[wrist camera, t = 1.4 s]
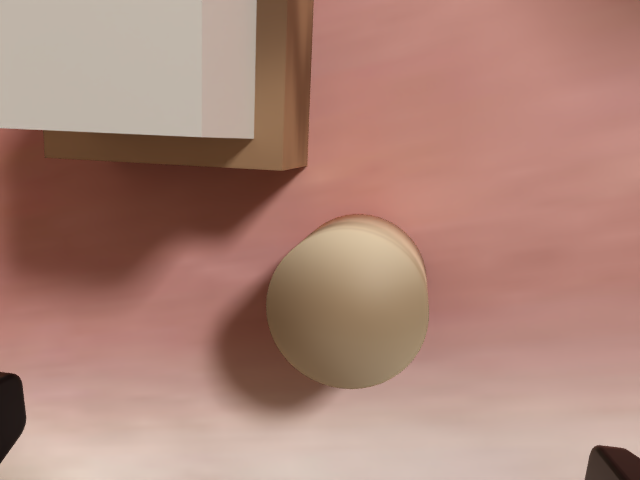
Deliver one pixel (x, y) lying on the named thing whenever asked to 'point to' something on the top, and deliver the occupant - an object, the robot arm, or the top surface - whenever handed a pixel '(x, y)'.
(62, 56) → the grey block
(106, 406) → the top surface
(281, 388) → the top surface
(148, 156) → the walnut slab
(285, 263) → the birch puck
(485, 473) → the top surface
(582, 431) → the top surface
